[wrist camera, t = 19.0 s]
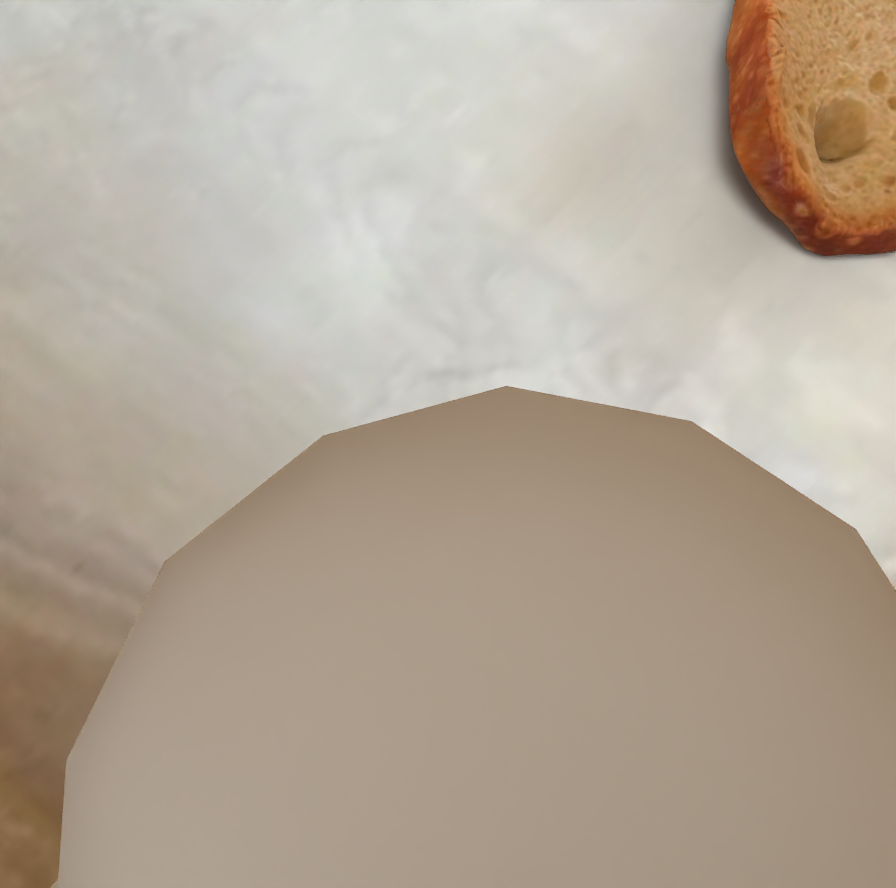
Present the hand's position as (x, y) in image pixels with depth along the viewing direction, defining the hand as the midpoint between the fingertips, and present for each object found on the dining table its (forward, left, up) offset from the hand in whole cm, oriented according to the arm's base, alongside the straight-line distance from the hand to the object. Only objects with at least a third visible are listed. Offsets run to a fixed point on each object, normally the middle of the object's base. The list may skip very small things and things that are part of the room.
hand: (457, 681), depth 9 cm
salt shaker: (0, 0, -8) cm, 8 cm away
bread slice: (-1, +30, -19) cm, 36 cm away
